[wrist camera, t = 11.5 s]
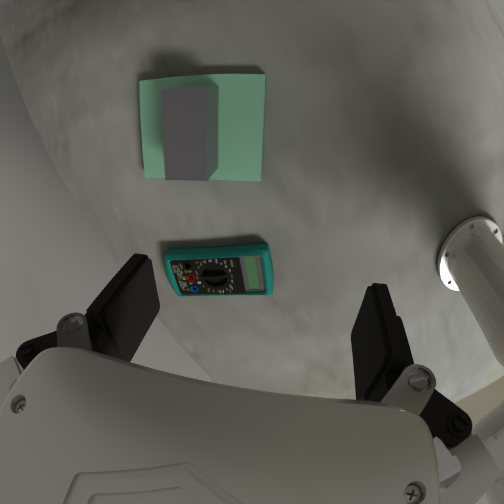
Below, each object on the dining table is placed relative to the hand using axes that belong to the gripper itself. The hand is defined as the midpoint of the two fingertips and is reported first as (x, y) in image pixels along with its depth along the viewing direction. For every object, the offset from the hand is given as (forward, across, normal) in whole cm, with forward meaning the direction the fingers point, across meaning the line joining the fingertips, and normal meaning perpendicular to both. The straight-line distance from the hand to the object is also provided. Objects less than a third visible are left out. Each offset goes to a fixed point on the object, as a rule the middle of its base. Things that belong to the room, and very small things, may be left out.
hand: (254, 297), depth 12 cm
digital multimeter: (+24, +8, +15) cm, 29 cm away
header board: (+23, +10, -4) cm, 25 cm away
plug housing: (+21, +10, -4) cm, 24 cm away
